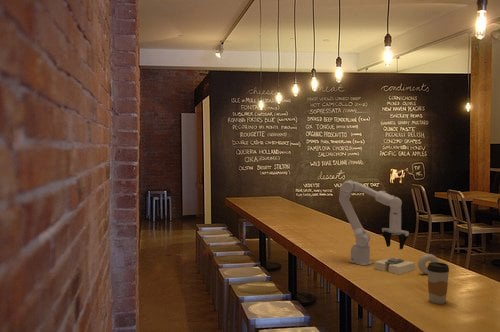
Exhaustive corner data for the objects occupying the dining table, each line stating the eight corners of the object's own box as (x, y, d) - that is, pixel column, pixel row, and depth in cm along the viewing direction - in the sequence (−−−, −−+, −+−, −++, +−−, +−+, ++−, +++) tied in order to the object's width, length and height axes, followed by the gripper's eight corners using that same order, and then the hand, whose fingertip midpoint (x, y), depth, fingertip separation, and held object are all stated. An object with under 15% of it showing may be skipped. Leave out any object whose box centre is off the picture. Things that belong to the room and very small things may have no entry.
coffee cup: (443, 298, 211) (444, 261, 210) (452, 304, 203) (453, 267, 202) (423, 298, 211) (424, 261, 210) (431, 304, 202) (431, 267, 202)
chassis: (374, 268, 258) (374, 261, 258) (390, 264, 267) (390, 257, 267) (399, 274, 247) (399, 267, 247) (414, 269, 256) (414, 262, 256)
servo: (384, 270, 255) (384, 259, 255) (396, 266, 262) (397, 256, 262) (391, 272, 252) (391, 260, 252) (403, 268, 259) (404, 257, 259)
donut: (419, 275, 246) (419, 254, 245) (416, 273, 249) (417, 253, 249) (440, 275, 246) (440, 254, 245) (437, 273, 249) (437, 253, 249)
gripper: (378, 220, 266) (378, 246, 266) (403, 223, 255) (402, 251, 255) (386, 218, 270) (386, 244, 271) (411, 222, 259) (410, 249, 260)
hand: (394, 247), depth 264 cm, fingers open, 7 cm apart
